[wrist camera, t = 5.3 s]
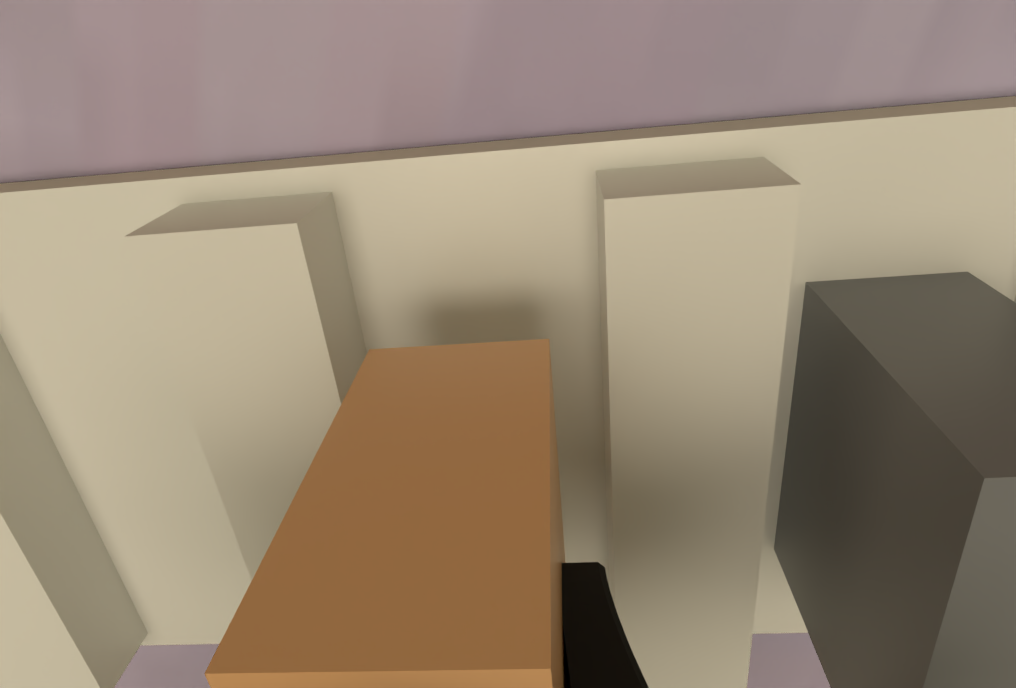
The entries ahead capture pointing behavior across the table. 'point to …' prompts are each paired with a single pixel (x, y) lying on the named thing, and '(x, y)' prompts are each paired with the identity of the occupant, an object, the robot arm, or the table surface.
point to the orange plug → (418, 535)
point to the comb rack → (444, 321)
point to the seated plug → (904, 482)
